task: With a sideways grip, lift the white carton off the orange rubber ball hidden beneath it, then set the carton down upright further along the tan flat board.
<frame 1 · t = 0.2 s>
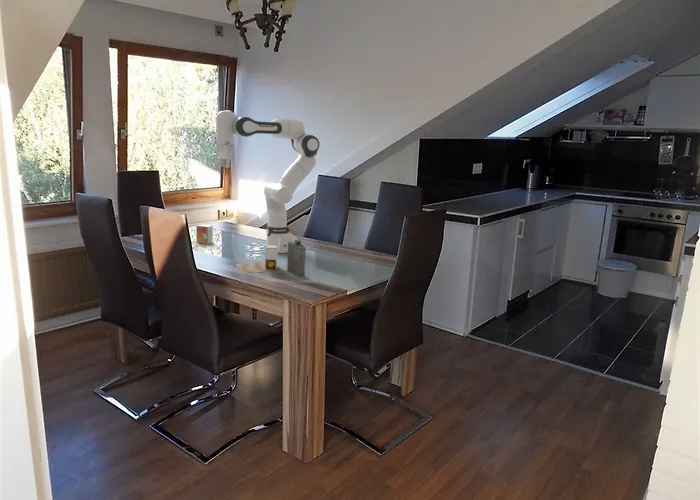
hand: (225, 167, 295), 48 cm above the table, tool pointing down, fingers open, 8 cm apart
small box: (204, 242, 330), on the table
flask: (296, 276, 266), on the table
orange ball: (271, 264, 274), point 3 cm above the table, touching tan flat board
tan flat board: (259, 269, 275), on the table
white carton: (271, 267, 274), point 1 cm above the table, touching tan flat board
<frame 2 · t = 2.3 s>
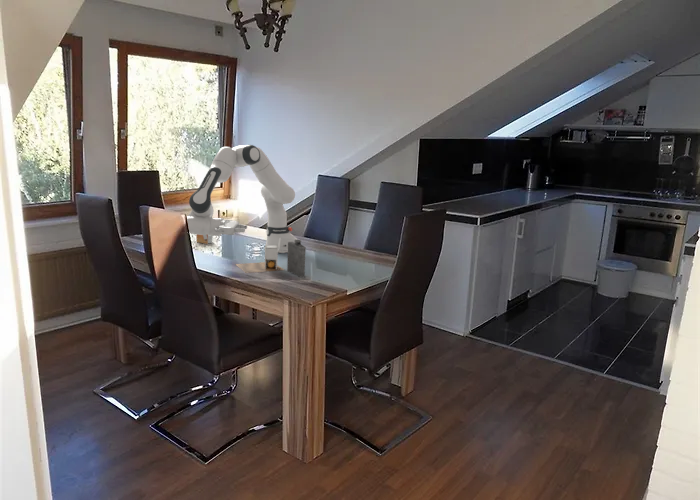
hand: (246, 228, 269), 21 cm above the table, tool horizontal, fingers open, 8 cm apart
nothing on the table moved.
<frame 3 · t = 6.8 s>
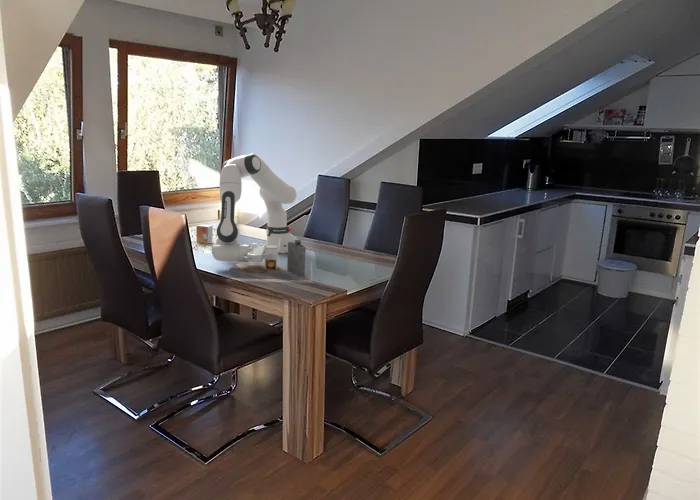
hand: (273, 254, 273), 8 cm above the table, tool horizontal, fingers closed on white carton, 6 cm apart
white carton: (271, 267, 274), point 1 cm above the table, touching gripper, tan flat board
everything else where it was.
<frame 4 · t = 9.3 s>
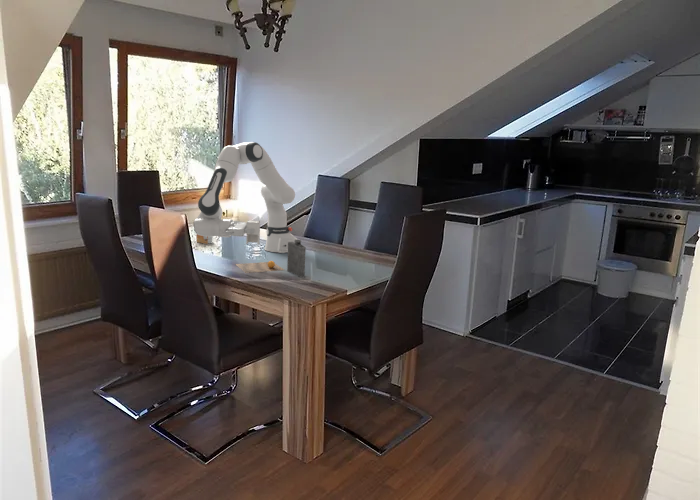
hand: (255, 229, 272), 20 cm above the table, tool horizontal, fingers closed on white carton, 6 cm apart
white carton: (253, 243, 273), point 13 cm above the table, touching gripper
everything else where it was.
when the fingers open (10 cm above the table, at t = 11.8 s): white carton drops 1 cm, resting on tan flat board.
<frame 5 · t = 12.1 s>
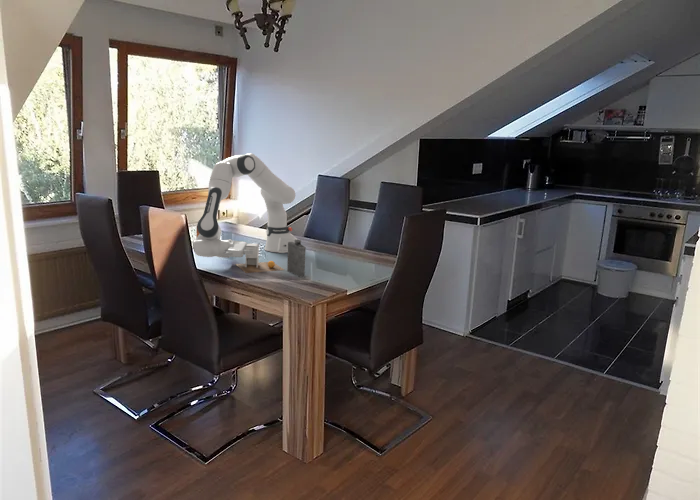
hand: (254, 249, 274), 10 cm above the table, tool horizontal, fingers open, 8 cm apart
white carton: (252, 266, 276), point 1 cm above the table, touching tan flat board
everything else where it was.
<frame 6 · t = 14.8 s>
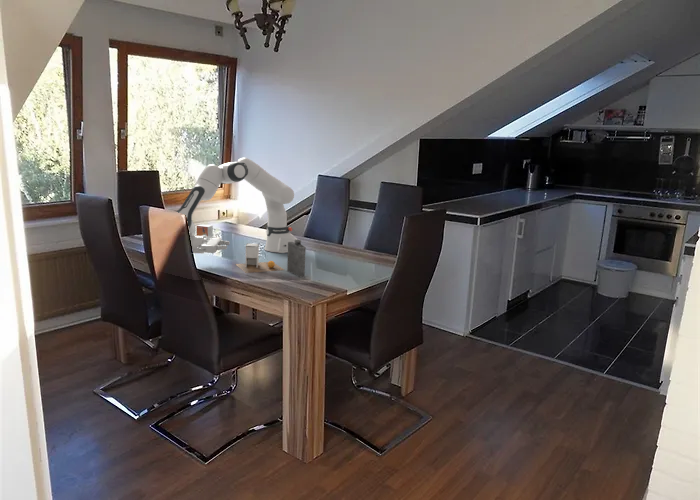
hand: (228, 245, 274), 11 cm above the table, tool horizontal, fingers open, 8 cm apart
nothing on the table moved.
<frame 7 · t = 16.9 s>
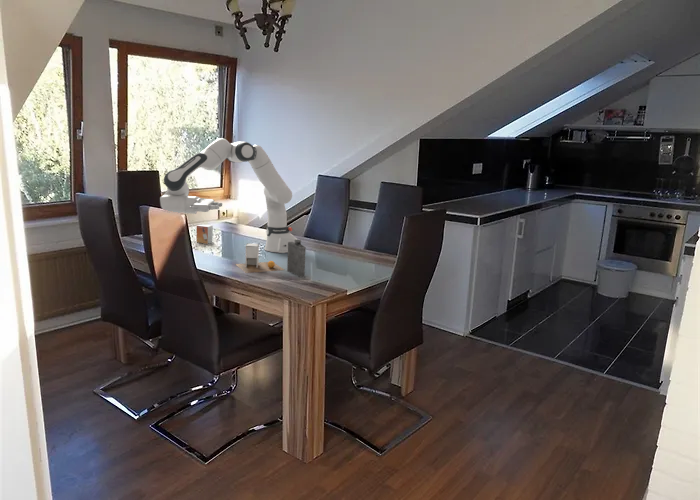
hand: (220, 206, 276), 30 cm above the table, tool horizontal, fingers open, 8 cm apart
nothing on the table moved.
at the end: white carton inside the target area (0.1 cm from its centre), point 1.2 cm above the table; white carton tilted 0°; the gripper is holding nothing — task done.
